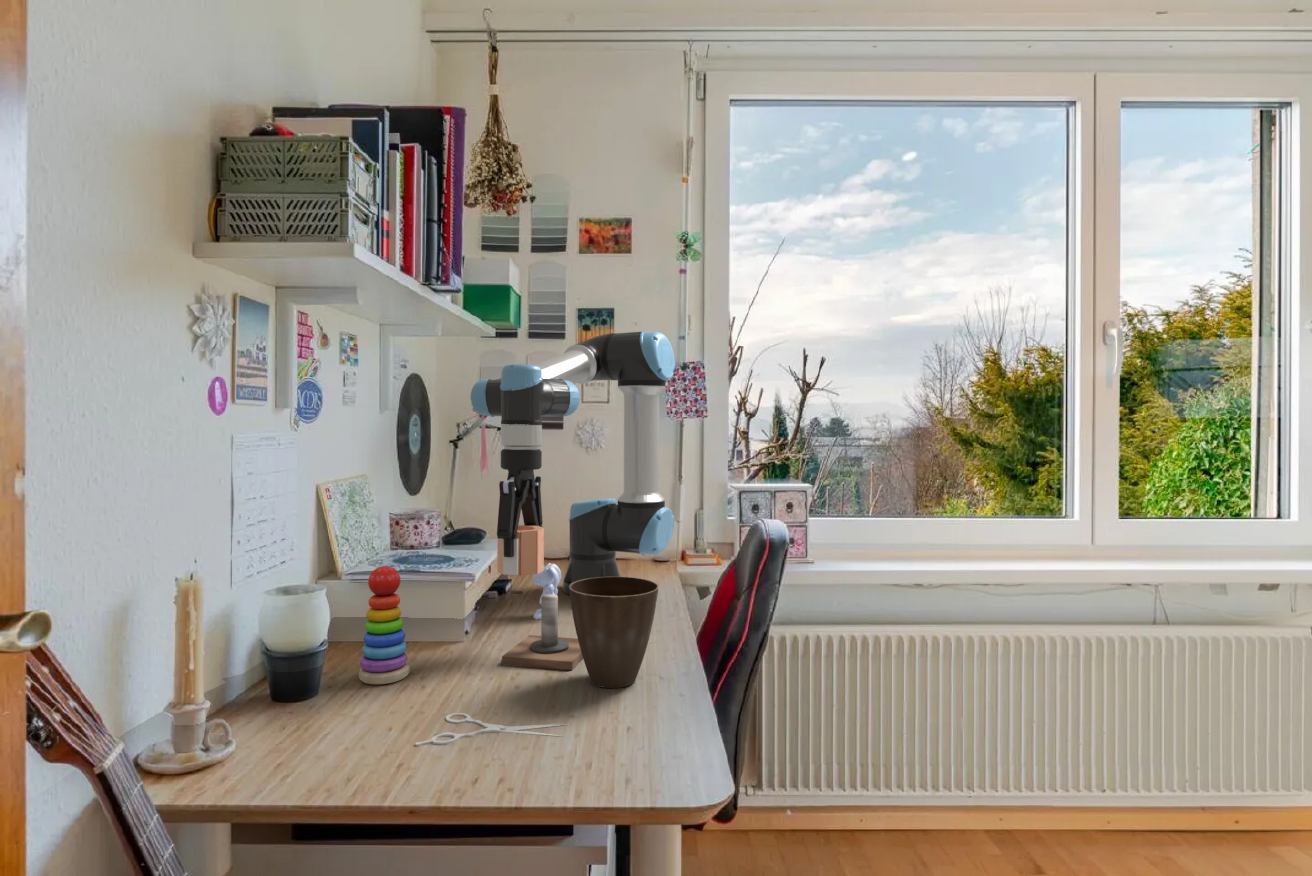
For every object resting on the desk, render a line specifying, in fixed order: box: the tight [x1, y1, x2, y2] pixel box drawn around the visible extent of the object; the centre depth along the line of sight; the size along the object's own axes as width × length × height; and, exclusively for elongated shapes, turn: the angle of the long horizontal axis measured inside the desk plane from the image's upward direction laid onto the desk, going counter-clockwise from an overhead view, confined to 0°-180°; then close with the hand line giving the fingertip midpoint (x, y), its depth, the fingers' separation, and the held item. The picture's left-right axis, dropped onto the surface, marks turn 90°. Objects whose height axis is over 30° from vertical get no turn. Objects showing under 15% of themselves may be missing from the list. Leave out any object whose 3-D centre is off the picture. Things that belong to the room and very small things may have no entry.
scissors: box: [415, 712, 569, 747], centre depth 103 cm, size 11×1×20 cm
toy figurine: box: [530, 562, 562, 620], centre depth 162 cm, size 7×6×12 cm
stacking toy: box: [358, 565, 410, 685], centre depth 123 cm, size 8×8×19 cm
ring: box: [496, 524, 545, 577], centre depth 137 cm, size 8×8×8 cm
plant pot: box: [569, 576, 659, 689], centre depth 123 cm, size 15×15×16 cm
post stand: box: [501, 594, 584, 671], centre depth 135 cm, size 13×13×11 cm
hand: (520, 569), depth 137 cm, fingers closed on ring, 8 cm apart
